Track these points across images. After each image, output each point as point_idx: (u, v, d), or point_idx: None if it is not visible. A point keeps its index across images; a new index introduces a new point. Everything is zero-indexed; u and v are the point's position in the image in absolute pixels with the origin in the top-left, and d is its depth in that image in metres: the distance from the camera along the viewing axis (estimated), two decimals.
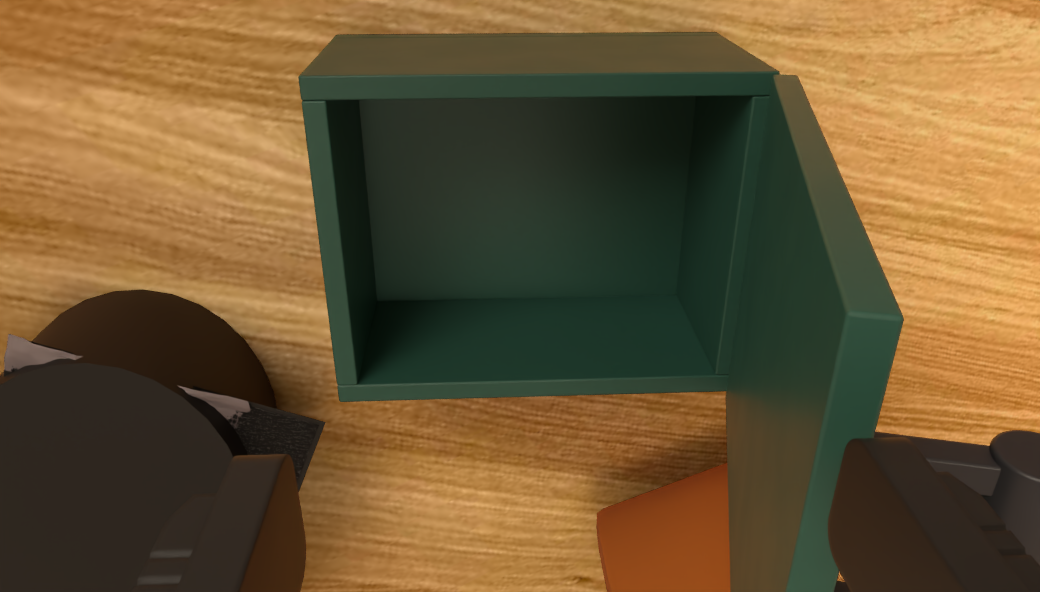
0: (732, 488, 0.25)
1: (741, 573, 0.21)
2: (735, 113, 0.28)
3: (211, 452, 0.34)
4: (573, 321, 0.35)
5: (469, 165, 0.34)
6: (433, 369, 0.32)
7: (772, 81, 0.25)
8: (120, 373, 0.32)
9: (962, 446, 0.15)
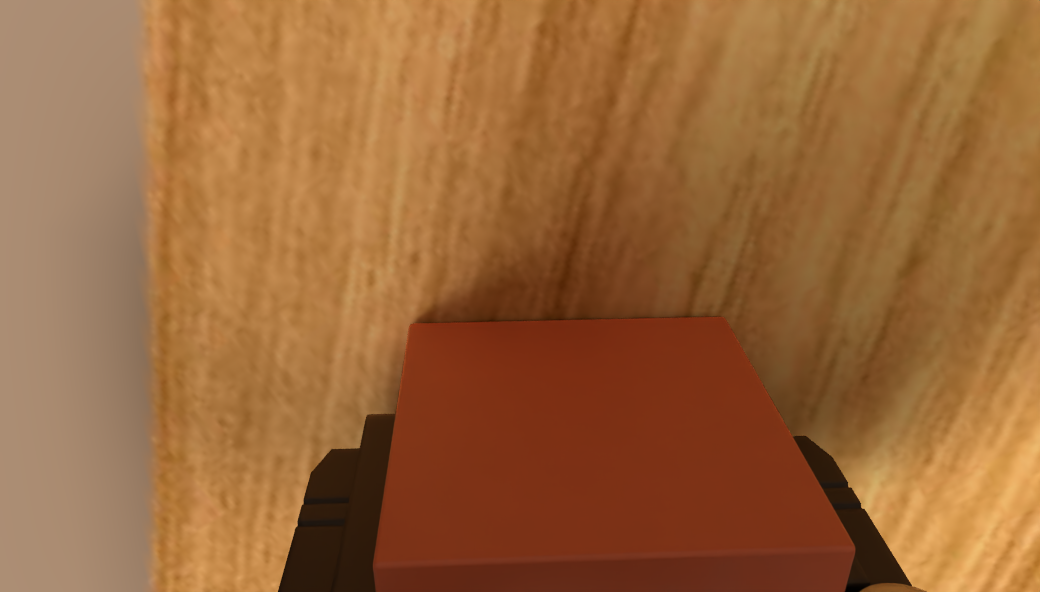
0: None
1: None
2: None
3: None
4: None
5: None
6: None
7: None
8: None
9: None
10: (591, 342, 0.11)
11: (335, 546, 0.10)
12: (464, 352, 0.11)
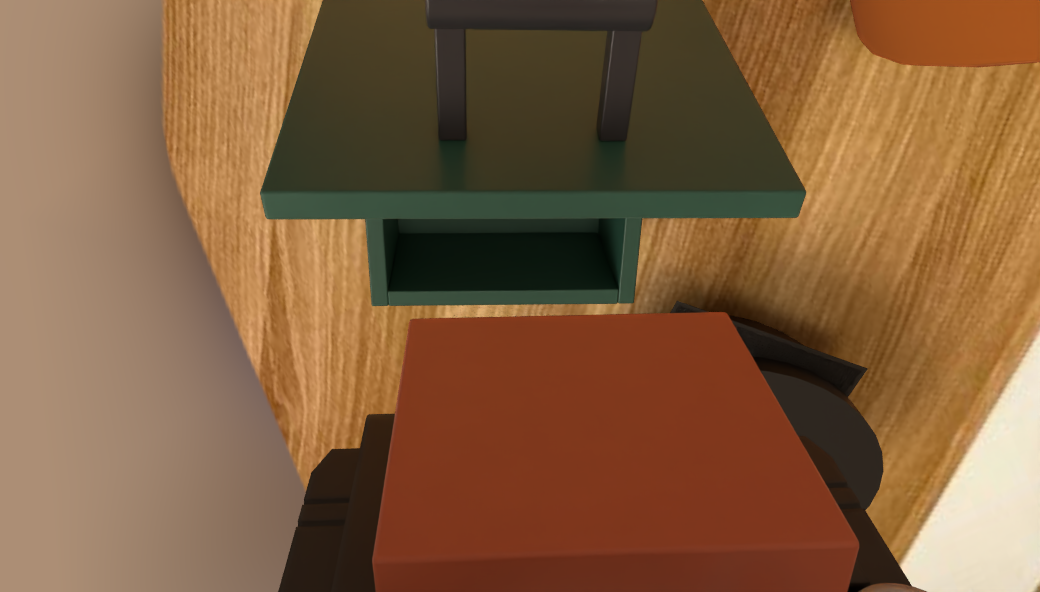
0: None
1: None
2: None
3: None
4: None
5: None
6: (620, 225, 0.38)
7: None
8: None
9: None
10: (592, 337, 0.11)
11: (335, 545, 0.10)
12: (464, 347, 0.11)
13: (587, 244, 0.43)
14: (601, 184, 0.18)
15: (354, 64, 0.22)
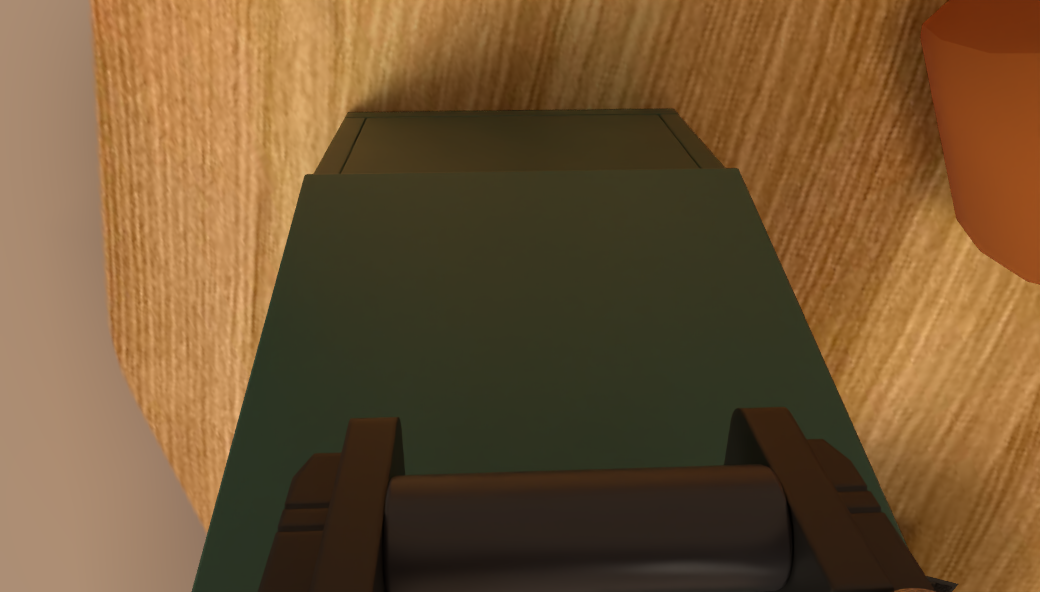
0: None
1: None
2: None
3: None
4: None
5: None
6: None
7: None
8: None
9: None
10: None
11: (315, 551, 0.10)
12: None
13: None
14: None
15: None
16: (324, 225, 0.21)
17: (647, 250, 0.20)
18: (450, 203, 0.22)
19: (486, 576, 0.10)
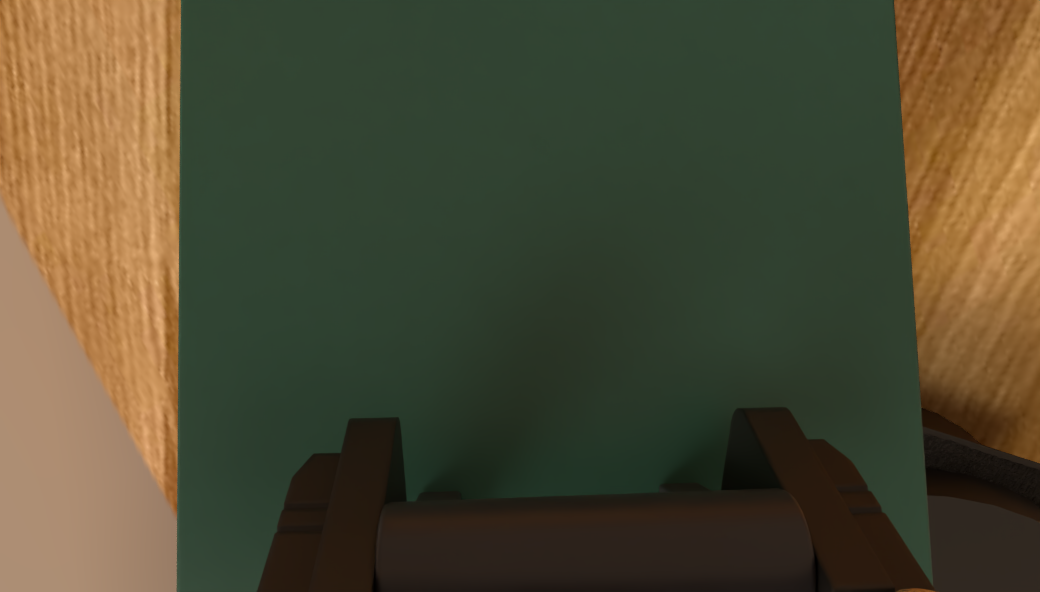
0: None
1: None
2: None
3: None
4: None
5: None
6: None
7: None
8: None
9: None
10: None
11: (315, 552, 0.10)
12: None
13: None
14: None
15: (267, 293, 0.13)
16: None
17: None
18: None
19: None
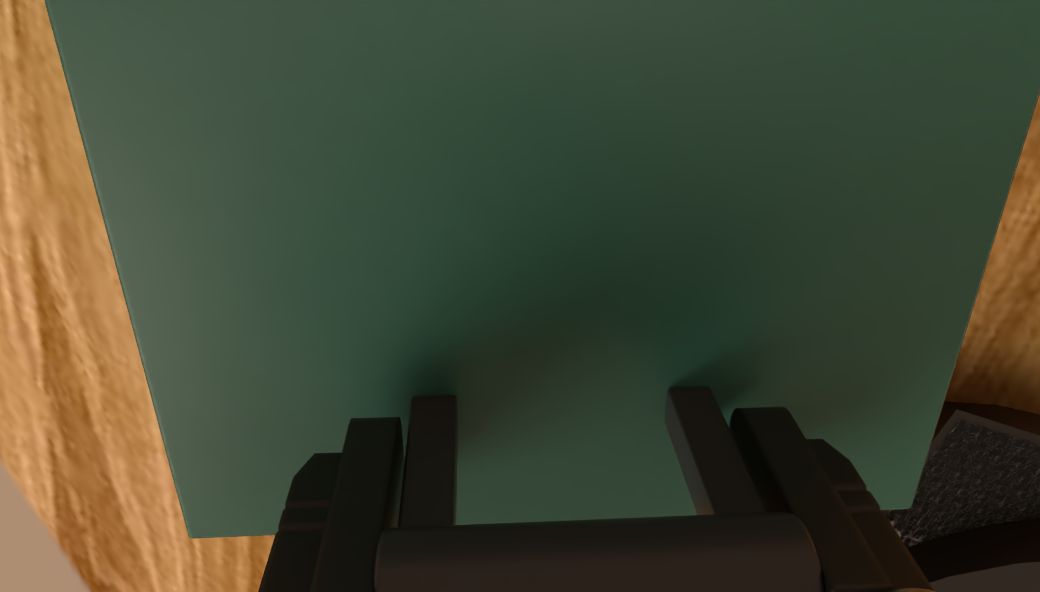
0: None
1: None
2: None
3: None
4: None
5: None
6: None
7: None
8: None
9: (400, 510, 0.10)
10: None
11: (315, 551, 0.10)
12: None
13: None
14: (644, 508, 0.14)
15: (208, 193, 0.11)
16: None
17: None
18: None
19: None
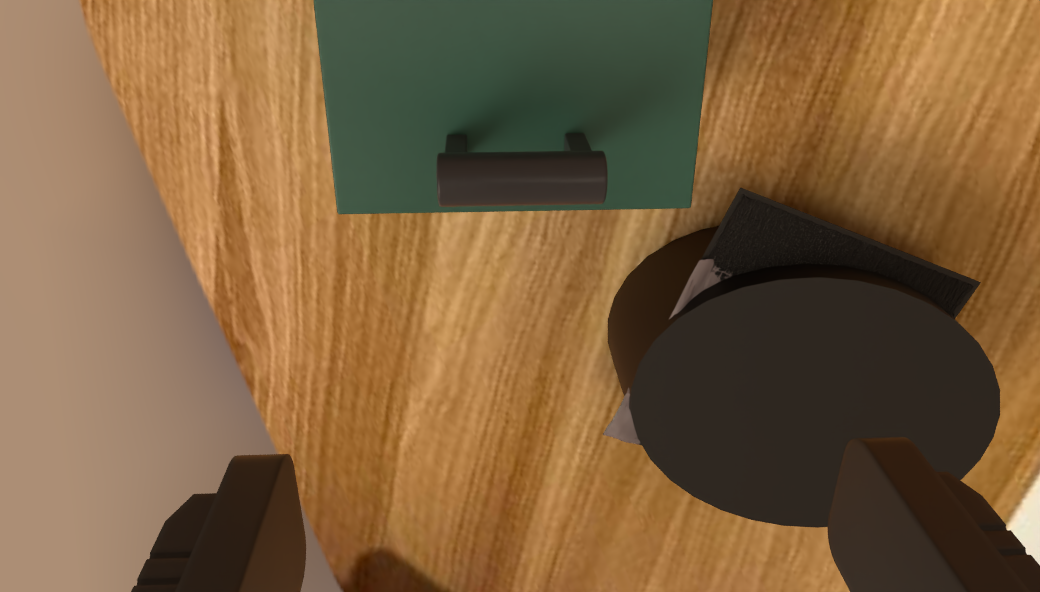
0: None
1: None
2: None
3: (747, 303, 0.33)
4: None
5: None
6: None
7: None
8: (645, 363, 0.34)
9: None
10: None
11: None
12: None
13: None
14: None
15: (363, 31, 0.25)
16: None
17: None
18: None
19: (480, 205, 0.24)
